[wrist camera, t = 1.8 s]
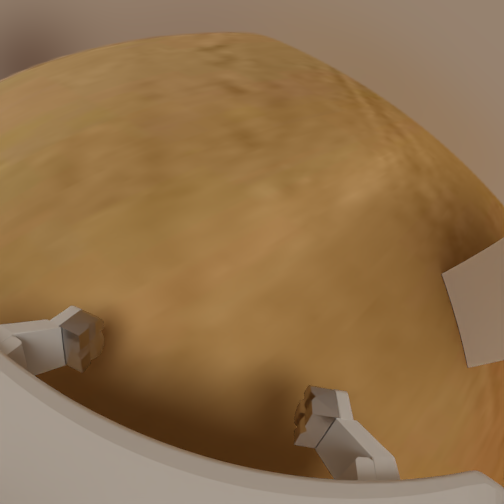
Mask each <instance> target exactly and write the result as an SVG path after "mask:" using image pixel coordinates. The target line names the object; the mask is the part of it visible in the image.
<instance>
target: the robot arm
mask: <svg viewBox="0 0 504 504" xmlns="http://www.w3.org/2000/svg"><path fill="white" fill-rule="evenodd" d="M103 329H104V321H103V320H102V319H101V318H99V317H97V316H95V315H93V314H91V313H89V312H86V311H84V310H82V309H80V308H78V307H76V306H70V307H69V308H67V309H66V310H64V311H63V312H61V313H60V314H58V315H57V316H55V317H54V318H52V319H51V320H50V321H49V320H47V319H45V320H37V321H29V322H20V323H11V324H2V325H0V504H504V488H503V487H502V486H501V485H499V484H498V483H497V482H495V481H494V480H492V479H491V478H489V477H488V476H486V475H485V474H483V473H481V472H479V471H477V470H472V471H465V472H461V473H456V474H450V475H443V476H435V477H427V478H417V479H403V480H400V477H399V473H398V469H397V465H396V461H395V458H394V456H392V455H391V454H390V453H389V452H388V451H387V450H386V449H385V448H384V447H383V446H382V445H381V444H380V443H379V442H378V441H377V440H376V439H375V438H374V437H373V436H372V435H371V434H370V433H369V432H368V431H367V430H366V429H365V428H364V427H363V426H362V425H361V424H360V423H359V422H358V421H355V420H353V415H352V410H351V406H350V401H349V397H348V393H347V392H346V391H341V390H335V389H334V390H332V389H327V388H321V387H316V386H311V385H309V386H308V387H307V388H306V390H305V392H304V399H302V400H300V402H299V404H298V406H297V409H296V412H295V417H294V423H295V425H296V426H297V427H296V429H295V431H294V445H298V446H304V447H310V448H316V449H315V450H316V452H317V453H318V455H319V456H320V458H321V459H322V461H323V463H324V464H325V466H326V467H327V469H328V470H329V472H330V473H331V475H332V476H333V478H334V479H323V478H313V477H304V476H296V475H288V474H282V473H276V472H270V471H264V470H259V469H254V468H249V467H245V466H240V465H236V464H232V463H228V462H224V461H220V460H217V459H213V458H209V457H206V456H202V455H199V454H196V453H193V452H190V451H187V450H183V449H181V448H178V447H175V446H172V445H169V444H166V443H164V442H161V441H158V440H156V439H153V438H151V437H148V436H146V435H143V434H141V433H139V432H136V431H134V430H132V429H129V428H127V427H125V426H123V425H120V424H118V423H116V422H114V421H112V420H110V419H108V418H106V417H104V416H102V415H100V414H98V413H96V412H94V411H92V410H90V409H88V408H86V407H85V406H83V405H81V404H79V403H77V402H76V401H74V400H72V399H70V398H69V397H67V396H65V395H64V394H62V393H60V392H59V391H57V390H56V389H54V388H52V387H51V386H49V385H48V384H46V383H45V382H43V381H42V380H40V379H39V378H37V377H36V376H35V375H38V374H41V373H44V372H47V371H50V370H53V369H56V368H59V367H62V366H65V364H66V365H68V366H70V367H72V368H74V369H76V370H78V371H80V372H82V373H83V372H84V371H85V369H86V368H87V367H88V366H89V365H90V364H91V359H94V358H97V357H98V356H99V355H100V354H101V352H102V350H103V347H104V336H103V334H102V332H101V331H102V330H103Z"/></svg>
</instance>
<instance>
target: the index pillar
mask: <svg viewBox="0 0 504 504" xmlns="http://www.w3.org/2000/svg"><path fill="white" fill-rule="evenodd" d="M442 277H443V280H444V283H445V285H446V288H447V291H448V294H449V298H450V301H451V304H452V307H453V310H454V314H455V317H456V321H457V324H458V328H459V332H460V336H461V340H462V344H463V348H464V352H465V356H466V361H467V366H468V368H469V367H474V366H479V365H484V364H488V363H493V362H497V361H501V360H504V238H502V239H501V240H499V241H497V242H496V243H494V244H493V245H491V246H489V247H488V248H486V249H484V250H483V251H481V252H479V253H478V254H476V255H474V256H473V257H471V258H469V259H467V260H466V261H464V262H462V263H460V264H459V265H457V266H455V267H453V268H451V269H450V270H448V271H446V272H444V273H442Z"/></svg>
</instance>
